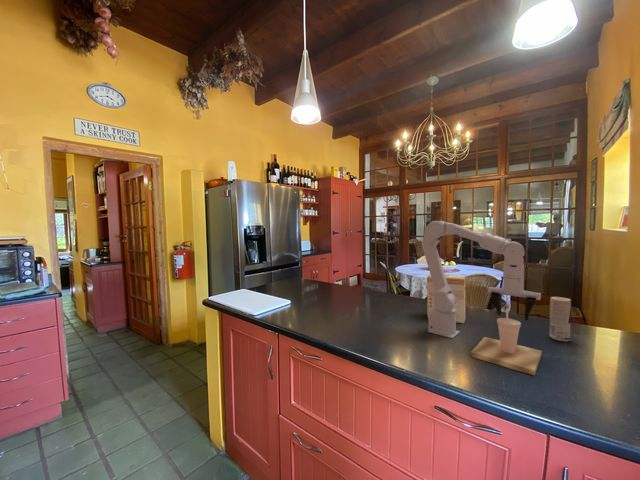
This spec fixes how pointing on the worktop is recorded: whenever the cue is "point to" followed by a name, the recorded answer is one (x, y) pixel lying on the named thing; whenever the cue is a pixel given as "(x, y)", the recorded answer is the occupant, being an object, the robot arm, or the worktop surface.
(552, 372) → the worktop surface
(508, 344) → the smoothie
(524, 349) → the base board
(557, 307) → the beverage can
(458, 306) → the coffeecake box
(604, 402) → the worktop surface
